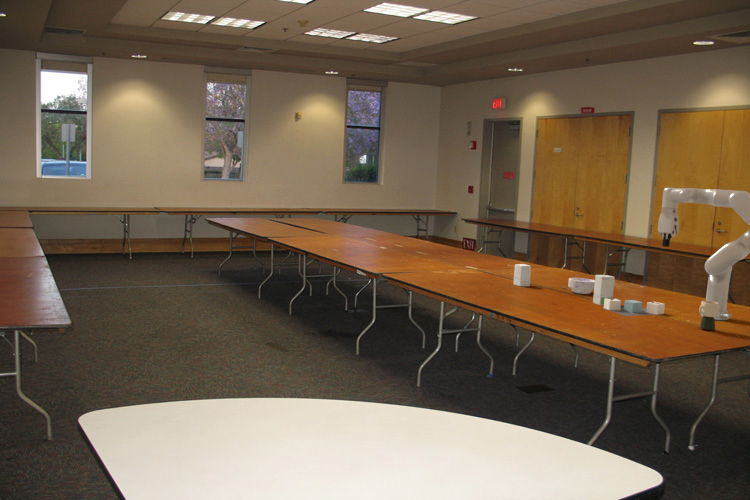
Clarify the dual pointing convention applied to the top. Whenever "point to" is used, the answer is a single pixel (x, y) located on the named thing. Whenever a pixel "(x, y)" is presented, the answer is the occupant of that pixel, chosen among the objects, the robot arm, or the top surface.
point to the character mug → (708, 314)
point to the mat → (627, 313)
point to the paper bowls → (581, 285)
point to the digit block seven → (612, 304)
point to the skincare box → (603, 288)
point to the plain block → (632, 306)
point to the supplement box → (522, 275)
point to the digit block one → (655, 308)
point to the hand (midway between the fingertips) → (665, 246)
